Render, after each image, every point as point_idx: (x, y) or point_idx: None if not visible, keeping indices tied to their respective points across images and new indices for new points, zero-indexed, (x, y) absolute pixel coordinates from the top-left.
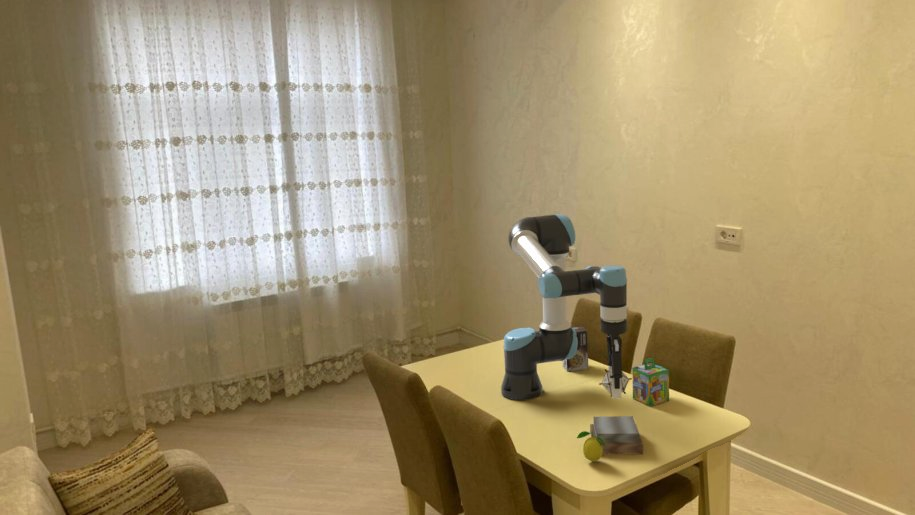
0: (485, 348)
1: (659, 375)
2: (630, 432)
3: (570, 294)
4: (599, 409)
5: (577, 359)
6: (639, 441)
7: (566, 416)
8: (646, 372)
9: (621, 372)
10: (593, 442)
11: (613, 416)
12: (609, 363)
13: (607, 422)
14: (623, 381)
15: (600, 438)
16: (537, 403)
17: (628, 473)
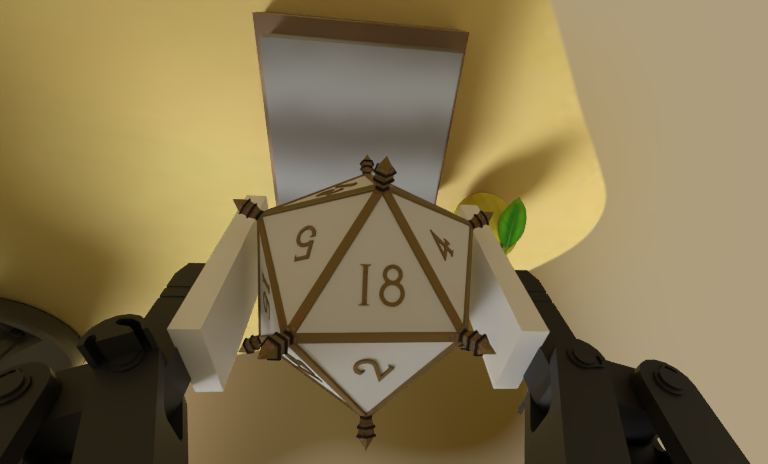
0: None
1: None
2: (444, 92)
3: None
4: (48, 129)
5: None
6: (438, 42)
7: (162, 243)
8: None
9: (723, 437)
10: (514, 244)
11: (271, 137)
12: (186, 424)
13: (337, 172)
14: (454, 252)
15: (522, 232)
16: (86, 307)
17: (568, 117)
